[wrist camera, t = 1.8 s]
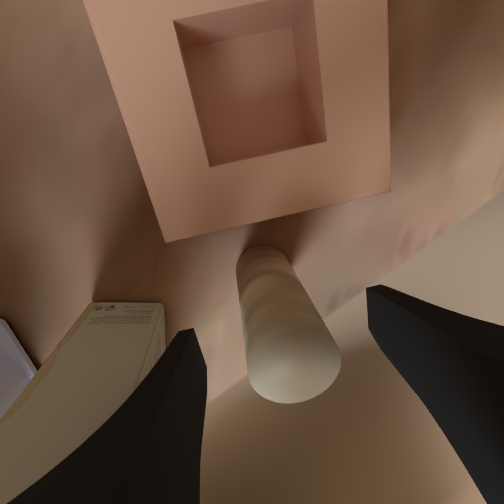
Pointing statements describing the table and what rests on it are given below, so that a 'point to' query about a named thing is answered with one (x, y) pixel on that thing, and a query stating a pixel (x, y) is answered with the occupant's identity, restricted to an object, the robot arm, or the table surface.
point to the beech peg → (282, 330)
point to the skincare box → (78, 389)
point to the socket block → (249, 104)
